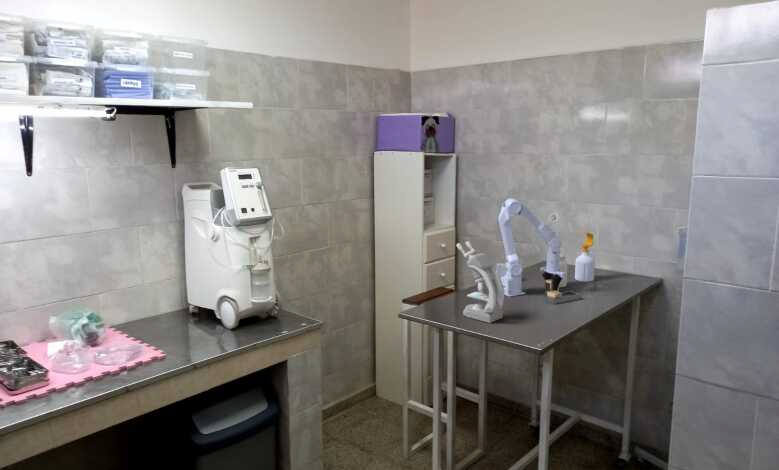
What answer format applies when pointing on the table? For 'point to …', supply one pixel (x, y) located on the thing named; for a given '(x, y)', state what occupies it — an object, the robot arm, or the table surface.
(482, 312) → the microscope
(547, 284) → the tan wooden block
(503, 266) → the medicine box
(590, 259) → the soap bottle
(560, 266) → the pill bottle
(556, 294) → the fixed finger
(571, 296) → the grey rectangular tray
